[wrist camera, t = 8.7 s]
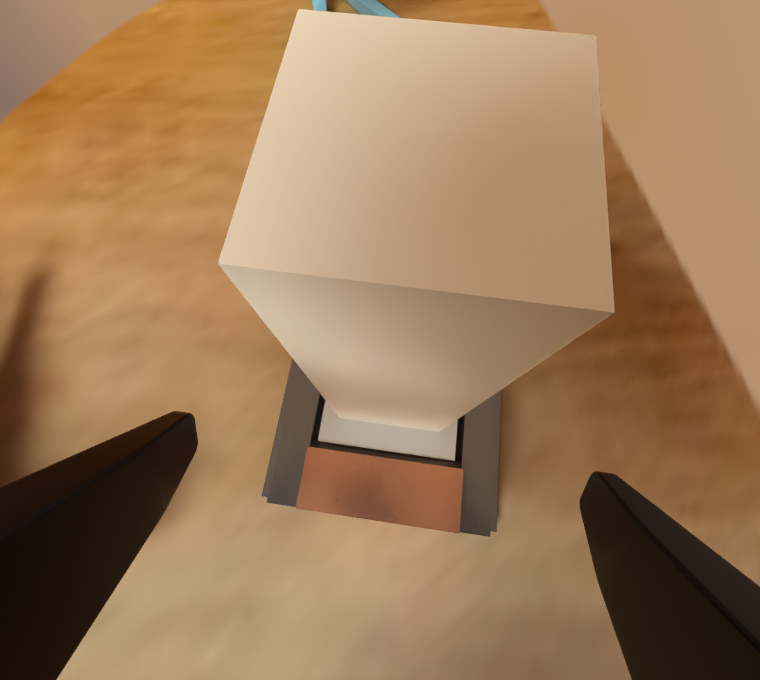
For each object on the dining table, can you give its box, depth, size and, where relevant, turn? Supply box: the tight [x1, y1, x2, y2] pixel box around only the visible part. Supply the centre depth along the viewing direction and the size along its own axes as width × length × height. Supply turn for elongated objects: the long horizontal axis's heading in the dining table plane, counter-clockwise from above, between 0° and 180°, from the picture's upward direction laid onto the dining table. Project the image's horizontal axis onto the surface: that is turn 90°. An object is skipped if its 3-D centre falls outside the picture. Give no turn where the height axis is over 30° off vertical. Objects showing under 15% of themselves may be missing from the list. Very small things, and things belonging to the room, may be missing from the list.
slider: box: [218, 9, 615, 462], centre depth 11 cm, size 6×5×14 cm
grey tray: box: [262, 358, 501, 537], centre depth 18 cm, size 18×10×3 cm, turn 172°
